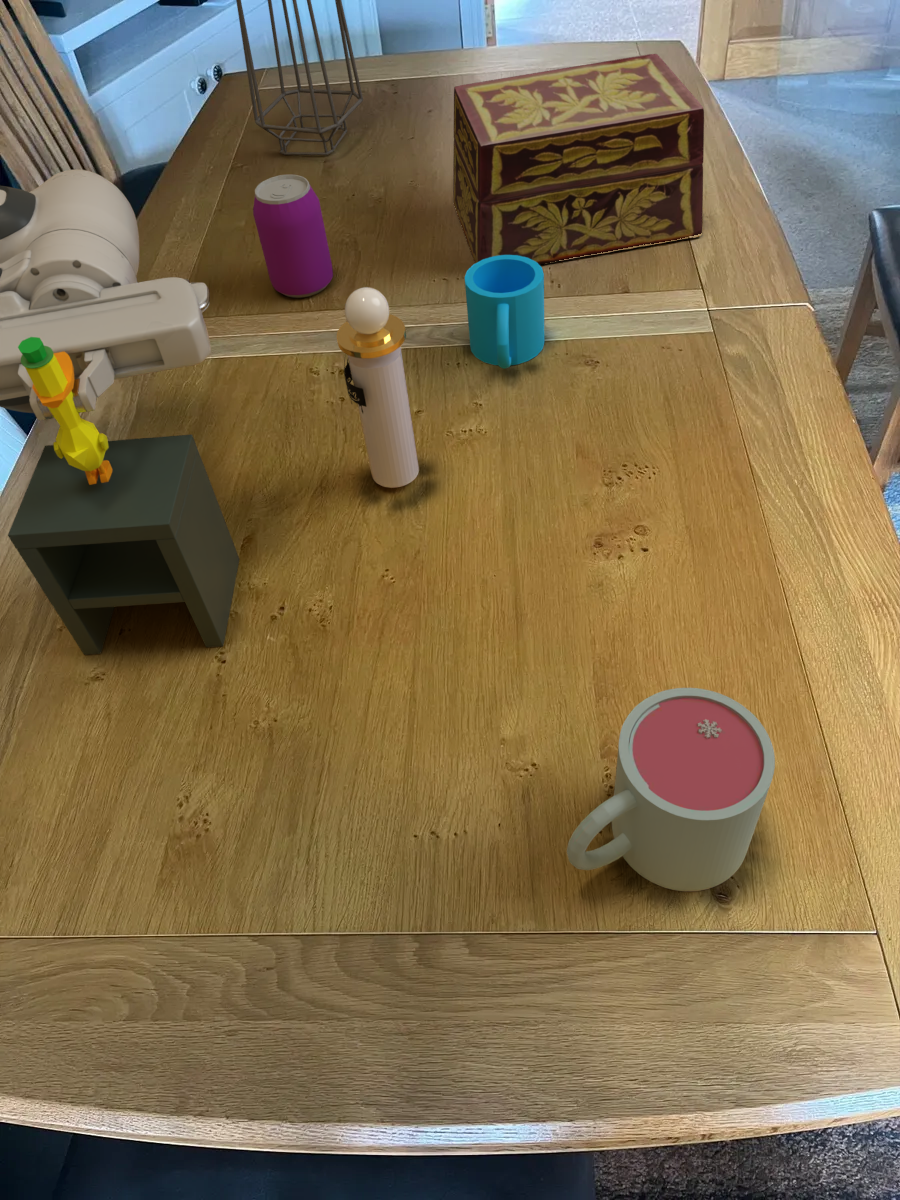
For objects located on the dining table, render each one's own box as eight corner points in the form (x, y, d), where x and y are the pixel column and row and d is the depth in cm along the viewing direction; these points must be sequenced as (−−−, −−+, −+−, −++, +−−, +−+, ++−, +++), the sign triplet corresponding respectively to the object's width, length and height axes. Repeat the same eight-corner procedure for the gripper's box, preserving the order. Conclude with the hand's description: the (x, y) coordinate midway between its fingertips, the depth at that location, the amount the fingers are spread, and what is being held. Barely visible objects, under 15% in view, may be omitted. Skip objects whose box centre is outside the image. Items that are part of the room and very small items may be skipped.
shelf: (83, 655, 79) (7, 535, 68) (110, 567, 85) (44, 445, 74) (223, 646, 78) (168, 524, 67) (239, 558, 85) (192, 434, 74)
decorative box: (655, 170, 125) (664, 47, 114) (703, 238, 113) (719, 108, 101) (452, 204, 124) (442, 83, 112) (479, 277, 112) (470, 150, 100)
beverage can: (289, 263, 117) (266, 168, 108) (344, 270, 115) (326, 173, 106) (261, 297, 113) (235, 201, 104) (319, 304, 111) (297, 207, 102)
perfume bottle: (414, 450, 92) (386, 264, 77) (434, 486, 89) (409, 298, 73) (359, 468, 91) (319, 283, 76) (377, 505, 88) (339, 318, 72)
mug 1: (472, 323, 106) (466, 256, 99) (544, 320, 105) (544, 253, 98) (465, 389, 98) (459, 321, 92) (544, 387, 97) (543, 318, 91)
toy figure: (79, 448, 72) (11, 312, 63) (126, 440, 72) (64, 303, 63) (72, 507, 68) (-3, 370, 59) (121, 498, 68) (54, 360, 59)
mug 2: (691, 746, 68) (708, 665, 61) (778, 849, 63) (808, 773, 55) (530, 835, 65) (526, 761, 57) (606, 952, 59) (614, 887, 52)
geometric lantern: (290, 118, 146) (230, -166, 120) (383, 123, 142) (343, -170, 115) (245, 165, 137) (170, -132, 110) (344, 171, 133) (291, -135, 106)
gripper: (219, 312, 76) (224, 416, 67) (-34, 358, 75) (-63, 469, 66) (197, 240, 71) (199, 341, 62) (-74, 287, 70) (-111, 397, 61)
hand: (62, 408), depth 64 cm, fingers closed on toy figure
